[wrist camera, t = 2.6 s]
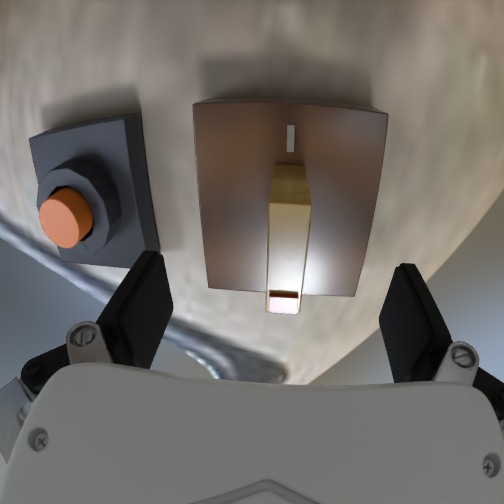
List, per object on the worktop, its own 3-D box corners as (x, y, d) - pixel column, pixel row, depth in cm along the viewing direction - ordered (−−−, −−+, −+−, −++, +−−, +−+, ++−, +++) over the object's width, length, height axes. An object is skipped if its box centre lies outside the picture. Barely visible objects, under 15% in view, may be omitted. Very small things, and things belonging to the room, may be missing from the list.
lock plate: (206, 98, 16) (190, 103, 13) (373, 107, 15) (390, 114, 12) (216, 263, 23) (207, 290, 20) (348, 270, 22) (355, 298, 19)
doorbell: (46, 130, 18) (12, 146, 14) (140, 112, 17) (108, 124, 13) (75, 248, 24) (51, 274, 20) (161, 254, 23) (141, 286, 19)
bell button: (48, 188, 16) (33, 200, 15) (86, 185, 16) (70, 197, 15) (61, 234, 18) (48, 247, 17) (98, 235, 18) (85, 250, 17)
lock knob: (274, 163, 15) (267, 204, 11) (305, 165, 15) (312, 207, 10) (271, 252, 18) (264, 315, 14) (298, 254, 18) (299, 317, 13)
